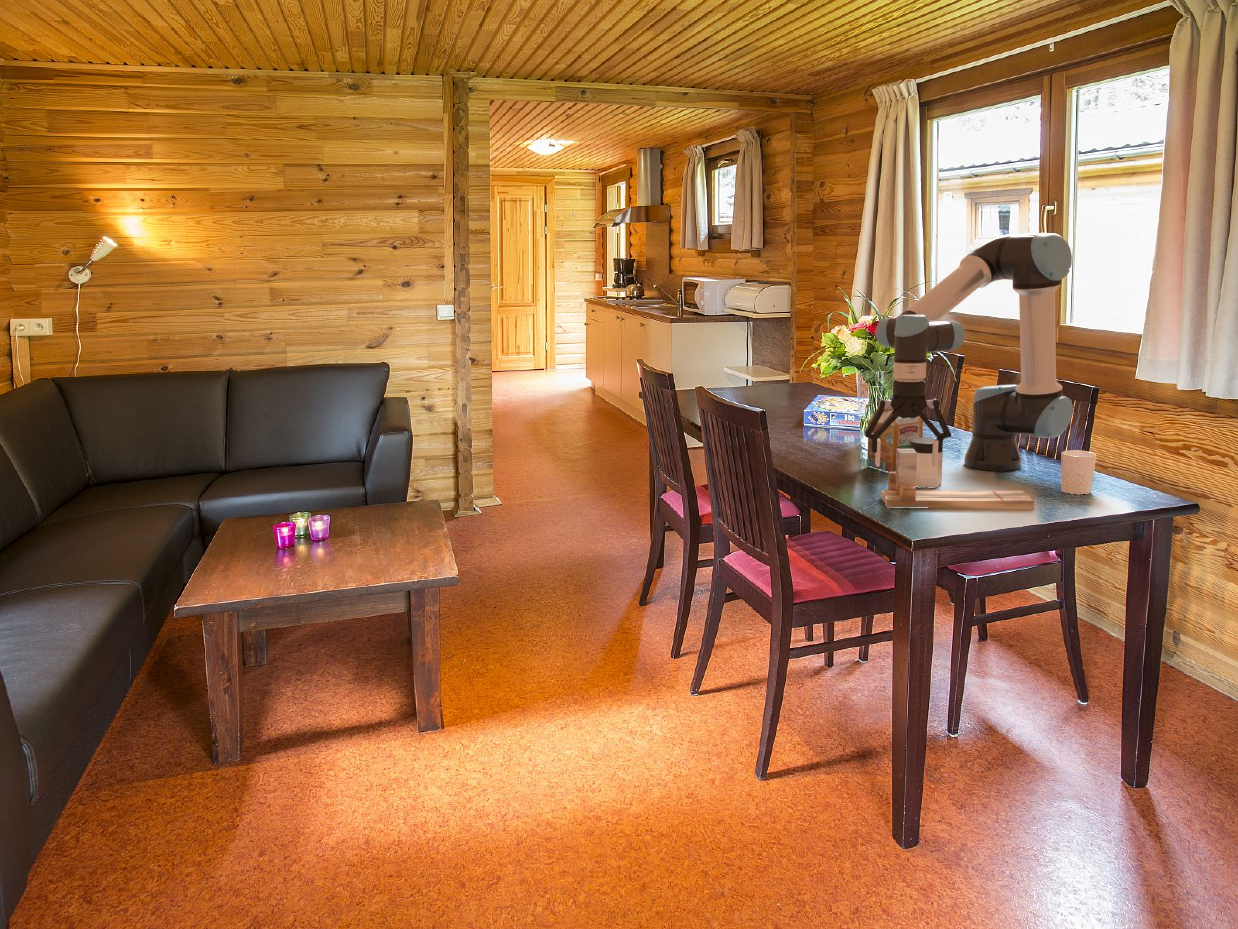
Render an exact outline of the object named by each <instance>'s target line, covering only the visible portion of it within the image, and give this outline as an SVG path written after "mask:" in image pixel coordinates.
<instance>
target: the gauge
mask: <svg viewBox="0 0 1238 929" xmlns="http://www.w3.org/2000/svg"><path fill="white" fill-rule="evenodd" d="M916 465H917V452H916V451H915V450H914V449H897V456H896V472H889V474H888V483H887V484H888V485H887V490H897V492H898V494H899V495H900V497H901V498H902V500H905V501H916V490H917V488H916V487H915V486H914V485H916Z"/></svg>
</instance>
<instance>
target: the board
mask: <svg viewBox="0 0 1238 929" xmlns="http://www.w3.org/2000/svg"><path fill="white" fill-rule="evenodd" d="M881 496H882V498H883V500H884V502H885V503H886V506H887V507H928V508H947V509H946V510H951V509H952V510H1034V508H1035V500H1033V498H1031V497H1030V496H1029V495H1028V494H1027V493H1025V492H1024V491H1023V490H918V489H916V501H905V500H902V498H901V497H900V495H899V494H898V492H897V490H888V489H886V490H883V489H882V490H881ZM881 496H880V497H881ZM882 498H881V499H882ZM883 500H882V501H883ZM884 502H883V503H884ZM886 506H885V507H886Z"/></svg>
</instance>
